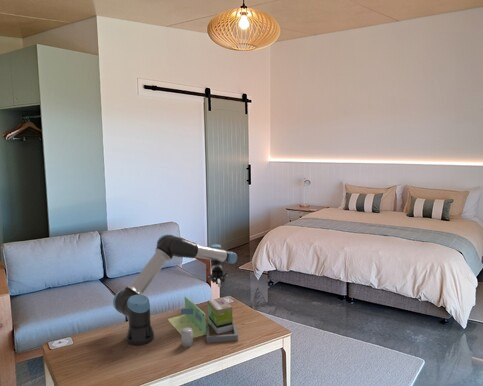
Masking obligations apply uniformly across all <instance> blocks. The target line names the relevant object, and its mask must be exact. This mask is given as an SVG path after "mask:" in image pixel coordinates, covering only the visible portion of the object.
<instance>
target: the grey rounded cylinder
mask: <svg viewBox="0 0 483 386" xmlns="http://www.w3.org/2000/svg"><path fill="white" fill-rule="evenodd" d="M180 336H181V346H182V347H183V348H189V347H190V348H191V347H192V346H193V344H194V338H193V331H192V328H183V329H182V330H181V334H180Z"/></svg>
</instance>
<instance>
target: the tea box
mask: <svg viewBox="0 0 483 386" xmlns="http://www.w3.org/2000/svg"><path fill="white" fill-rule="evenodd" d="M207 313H208V314H207V316H208V317H207V318H208V324H209V325H210V326H211V327H212V329H213V331H215V332H216V334H217V335H219V334H223V333H227V332H231V331H233V324H234V322H233V321H234V320H233V319H234V318H233V305H231V304H230V303H229V302H228V301H227V300H226V299H225V298H224V297H218V298H214V299H209V300H207Z"/></svg>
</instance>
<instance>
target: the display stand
mask: <svg viewBox="0 0 483 386" xmlns="http://www.w3.org/2000/svg"><path fill="white" fill-rule="evenodd" d="M206 319H207V318H206V313H205V312H204V311H203V310H201V308H199V307H198V306H197V305H196V304H194V302H192V301H191V300H190V298H188V297H187V296H186V295H185V296H184V308H180V315H177V316H173V317H169V318H167V321H168V322H169V323H170V324H171V325H172V327H174V329H176V331H177V332H178V333H179V334H180V335H181V330H182V329H183V328H192V331H193V339H195V338H198V337H201V336H202V337H203V336H205V335H206V326H207V322H206V321H207V320H206Z"/></svg>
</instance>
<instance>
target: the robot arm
mask: <svg viewBox="0 0 483 386" xmlns="http://www.w3.org/2000/svg"><path fill="white" fill-rule="evenodd" d="M154 251H155V253H154V254H153V256H152V257H151V258H150V260H149V261H148V262H147V264H146V265H145V266H144V267H143V269H142V270H141V271H140V273H139V274H138V275H137V277H136V278H135V279H134V280H133V282H132V283H131V284H130V285H127V286H125V288H124V289H123V290H119V291H118V292H116V294H115V295H114V297H113V299H112V305H113V308H114V310H115V311H117V312H118V313H120V314H122V315H124V316H126V317H127V318H128V329H127V332H126V337H125V339H126V340H127V341H126V343H127V342H128V344H129V345H131V344H132V345H131V346H141V345H146V344H149V343H151V342H152V341H153V340H154V339H155V331H154V329H153V326H152V324H151V303H150V299H149V297H148V296H147V295H144V293H145V292H146V291H147V288H148V287H149V286H150V284H151V283H152V282H153V281H154V280H155V278H156V277H157V275H158V274H159V273H160V271H161V270H162V268H163V267H164V266H165V264H166V263H167V262H168V261H169V262H170V261H171V260H172V259H173V258H174V257H177V258H186V259H188V258H189V259H195V258H197V259H205V260H209V261H210V269H211V270H210V271H211V273H208V274H207V279H209V280H210V281H211V282H212V283H213V284H214V283H215V285H217V287H218V288H221V287H222V286H221V285H222V284H223V283H225V282H226V279H227V278H228V273H227V272H226V273H224V271H223V266H222V262H223V263H227V264H232V265H233V264H235V263H236V262H237V260H238V255H237V253H235V252H233V251H230V250H226V249H223V248H222V245H221V244H217V243H214V244H211V245H210V246H209V247H208V246H203V245H200V244H198V243H196V242H193V241H191V240H187V239H185V238H183V237H180V236H179V237H178V236H176V235H172V234H163V235H161V236H160V237H159V238H158V239H157V242H156V248H155V250H154ZM150 341H151V342H150Z"/></svg>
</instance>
